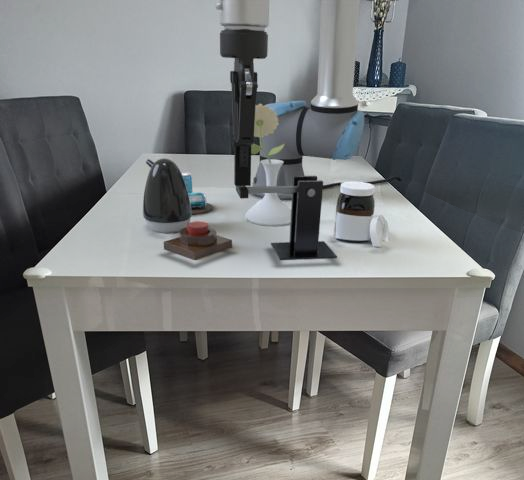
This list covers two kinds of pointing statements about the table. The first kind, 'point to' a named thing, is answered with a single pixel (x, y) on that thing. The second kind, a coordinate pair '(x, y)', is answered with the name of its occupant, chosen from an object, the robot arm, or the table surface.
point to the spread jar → (359, 215)
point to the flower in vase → (268, 174)
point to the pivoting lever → (264, 190)
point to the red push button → (197, 228)
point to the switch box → (197, 244)
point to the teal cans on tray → (196, 197)
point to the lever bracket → (305, 223)
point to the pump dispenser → (166, 198)
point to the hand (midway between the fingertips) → (242, 184)
